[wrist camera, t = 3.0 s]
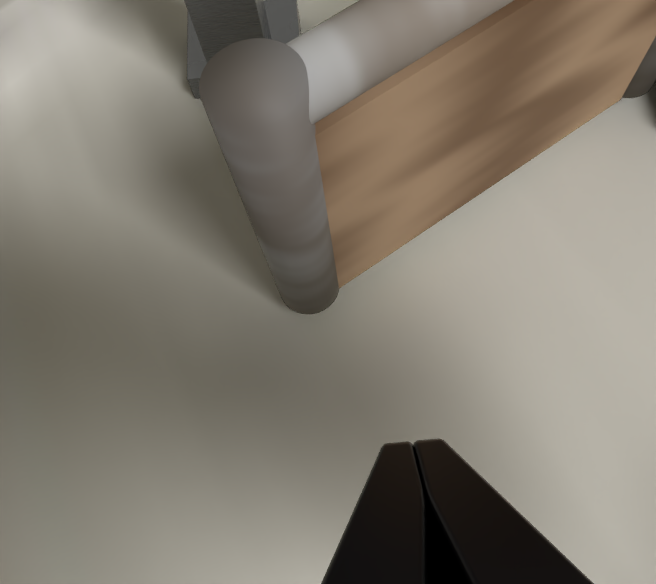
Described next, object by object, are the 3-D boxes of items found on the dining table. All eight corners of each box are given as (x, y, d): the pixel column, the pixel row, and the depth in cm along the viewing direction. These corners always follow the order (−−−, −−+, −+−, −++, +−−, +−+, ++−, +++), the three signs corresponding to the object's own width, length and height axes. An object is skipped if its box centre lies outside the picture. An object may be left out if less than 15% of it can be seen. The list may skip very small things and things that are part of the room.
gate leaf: (625, 45, 21) (790, -280, 12) (666, 79, 20) (867, -239, 12) (267, 280, 19) (179, 73, 10) (300, 325, 18) (234, 145, 10)
